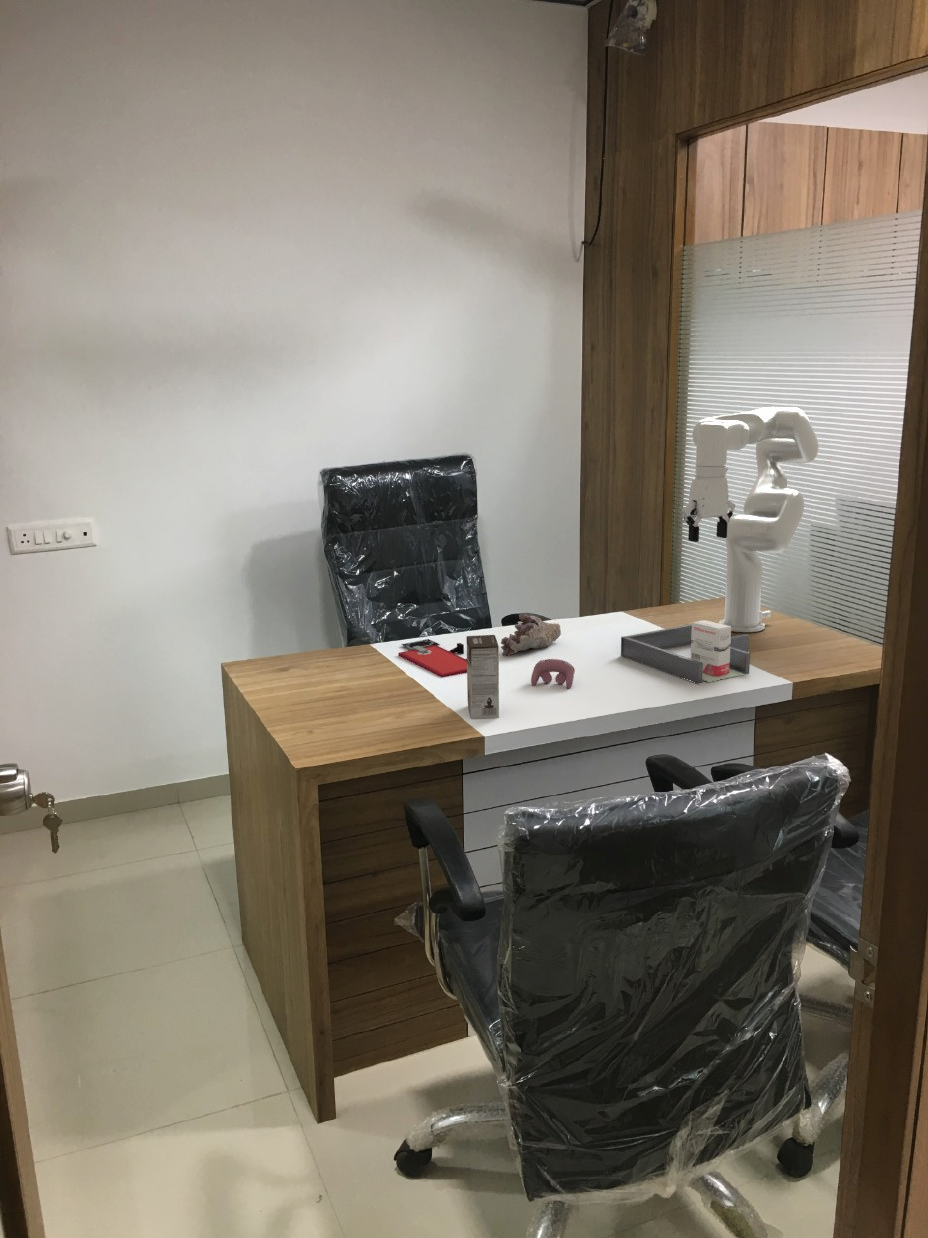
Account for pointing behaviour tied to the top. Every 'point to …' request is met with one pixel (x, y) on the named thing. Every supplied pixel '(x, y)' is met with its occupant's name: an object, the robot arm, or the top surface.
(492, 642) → the coffee box
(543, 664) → the video game controller
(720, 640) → the ink box
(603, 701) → the top surface
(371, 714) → the top surface
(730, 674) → the pad
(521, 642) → the mineral specimen
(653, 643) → the gray open tray
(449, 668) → the red board with handle
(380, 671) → the top surface
